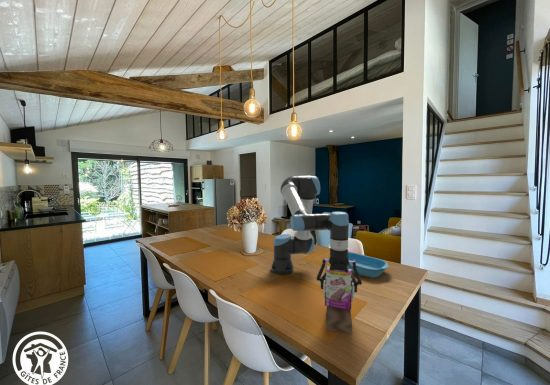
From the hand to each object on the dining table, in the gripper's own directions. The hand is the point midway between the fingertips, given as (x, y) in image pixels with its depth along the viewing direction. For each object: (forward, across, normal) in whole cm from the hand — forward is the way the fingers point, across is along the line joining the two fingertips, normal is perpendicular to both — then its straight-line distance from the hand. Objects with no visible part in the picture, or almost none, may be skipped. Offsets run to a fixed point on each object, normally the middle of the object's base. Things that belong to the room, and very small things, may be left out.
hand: (338, 297), depth 101 cm
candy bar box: (+4, 0, 0) cm, 4 cm away
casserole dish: (+11, +15, +60) cm, 63 cm away
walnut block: (+10, 0, 0) cm, 10 cm away
